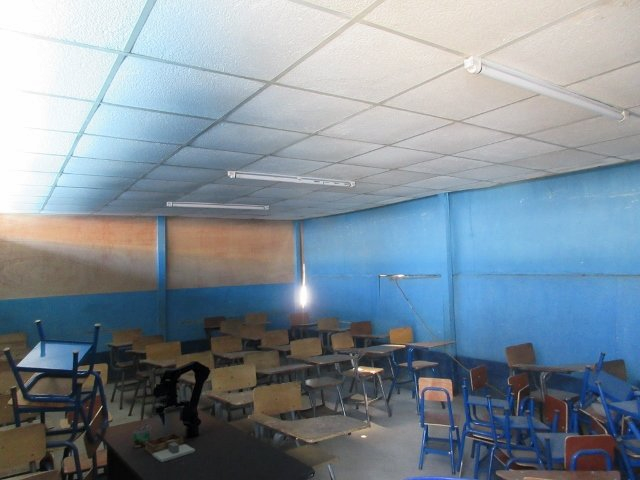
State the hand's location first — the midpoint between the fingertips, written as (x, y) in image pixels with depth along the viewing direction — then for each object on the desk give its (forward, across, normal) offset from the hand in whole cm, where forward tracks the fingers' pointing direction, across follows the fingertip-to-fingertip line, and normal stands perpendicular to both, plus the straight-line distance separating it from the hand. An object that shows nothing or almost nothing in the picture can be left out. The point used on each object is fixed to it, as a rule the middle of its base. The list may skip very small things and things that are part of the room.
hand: (172, 422), depth 234 cm
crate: (+12, +5, +2) cm, 13 cm away
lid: (+12, +5, +14) cm, 19 cm away
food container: (+12, +10, -13) cm, 20 cm away
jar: (+11, +2, +2) cm, 12 cm away
